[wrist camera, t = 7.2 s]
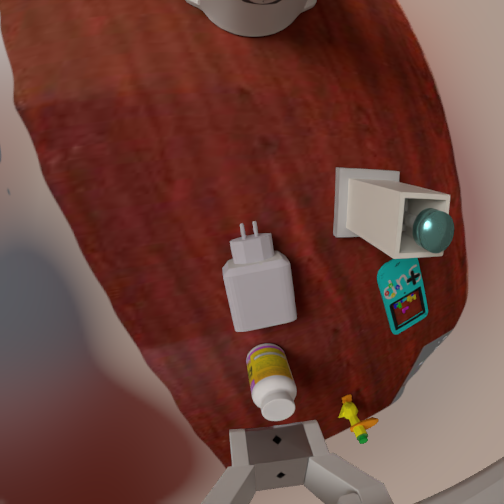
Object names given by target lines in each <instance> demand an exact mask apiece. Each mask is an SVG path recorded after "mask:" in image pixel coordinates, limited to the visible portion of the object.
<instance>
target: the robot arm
mask: <svg viewBox="0 0 504 504" xmlns="http://www.w3.org/2000/svg"><path fill="white" fill-rule="evenodd" d="M316 1H317V0H186V2H188V3H189V4H191V5H193V6H195V7H197V8H199V9H201V10H202V11H203V12H204V13H205V14H206V15H207V17H208V18H209V19H210V20H211V21H212V22H213V23H214V24H216V25H217V26H219V27H220V28H222V29H224V30H226V31H228V32H231V33H233V34H237V35H242V36H250V37H258V36H266V35H271V34H274V33H277V32H279V31H281V30H283V29H285V28H286V27H288V26H289V25H290V24H291V23H292V22H293V21H294V20H295V19H296V17H297V16H298V15H299V14H300V13H301V12H304V11H306V10H309V9H311V8H312V7H314V6H315V4H316ZM229 435H230V446H231V457H232V467H228V468H227V469H226V470H225V472H224V473H223V475H222V476H221V478H220V479H219V480H218V482H217V483H216V484H215V486H214V487H213V488H212V490H211V491H210V492H209V494H208V495H207V496H206V498H205V499H204V500H203V502H202V503H201V504H249V503H250V501H251V500H252V498H253V496H254V494H255V492H256V491H260V490H267V489H274V488H281V487H289V486H297V485H303V484H304V486H305V487H306V488H307V489H308V490H310V491H311V492H312V493H313V494H314V495H315V496H316V497H318V498H319V499H320V500H321V501H322V502H324V503H325V504H393V502H392V500H391V498H390V495H389V494H388V491H387V489H386V487H385V485H384V483H382V482H381V481H379V480H377V479H375V478H374V477H372V476H370V475H369V474H367V473H365V472H364V471H362V470H360V469H359V468H357V467H355V466H354V465H352V464H351V463H349V462H347V461H346V460H344V459H343V458H341V457H340V456H338V455H337V454H335V453H329V450H328V448H327V445H326V443H325V440H324V437H323V435H322V432H321V430H320V427H319V424H318V422H317V421H316V420H312V421H305V422H297V423H291V424H284V425H277V426H272V427H260V428H246V429H245V430H244V429H231V430H230V432H229ZM414 504H504V457H502V458H501V459H499V460H498V461H496V462H495V463H493V464H491V465H490V466H488V467H486V468H485V469H483V470H481V471H479V472H478V473H476V474H474V475H473V476H471V477H469V478H467V479H465V480H463V481H461V482H459V483H458V484H456V485H454V486H452V487H450V488H448V489H446V490H443V491H441V492H439V493H437V494H435V495H433V496H431V497H428V498H426V499H424V500H422V501H419V502H417V503H414Z"/></svg>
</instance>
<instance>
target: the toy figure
mask: <svg viewBox="0 0 504 504" xmlns="http://www.w3.org/2000/svg"><path fill="white" fill-rule="evenodd" d="M351 397H352V395H347V396H345V397H343V398H342V400H343V401H342V403H344V404H343V406H342V409H341V412H340V415H339V417H338V418H341V417H345V418H346V419H349V420H350V423H351V427H350V430H351V432H354V433H355V436H356V438H357V440H358V441H359V443H360V444H364V443H366V442H367V441H368V439H367V437H368V434H367V432H366V429H368V428H371V427H372V426H374V425H375V424H376V423H377V422H378V419H377V418H373V417H372V418H369V419H366V420H363V421H360V420H359V419H358V417H357V416H356V415H357V412H358V409H357V408H356V406H355V404H354V403H352V402H351V401H352V399H351Z"/></svg>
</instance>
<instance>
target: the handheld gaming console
mask: <svg viewBox="0 0 504 504" xmlns="http://www.w3.org/2000/svg"><path fill="white" fill-rule="evenodd" d="M377 282H378V285H379V289H380V292H381V296H382V299H383V303H384V306H385V310H386V313H387V317H388V321H389V324H390V328H391V332H392V333H393V334H399V333H401V332H402V331H404V330H406V329H407V328H409V327H410V326H412V325H414V324H415V323H417V322H418V321H420V320H422V319H423V318H425V317H426V316H427V314H428V306H427V301H426V295H425V290H424V285H423V280H422V276H421V271H420V266H419V262H418V258H402V259H392V260H390V261H389V262H387V263H385V264H384V265H383V266H382V267H381V268H380V270H379V272H378V274H377ZM417 290H418V291H419V295H420V300H421V305H422V309H423V311H422V312H420V313H418V314H417V315H415V316H414V317H412V318H410V319H409V320H407V321H405V322H404V323H402V324H400V325H399V326H397V322H396V318H395V314H394V311H393V307H392V305H394V308H395V309H396V308H397V307H399V308H401V307H402V306H401V303H402V302H404V301H405V300H407V301H409V300H410V302H411V301H412V298H414V299H416V295H413V293H415V291H417ZM400 300H401V301H400ZM408 308H409V307H408V306H407V307H406V308H404V309H402V311H403V313H405V310H406V309H408Z"/></svg>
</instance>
